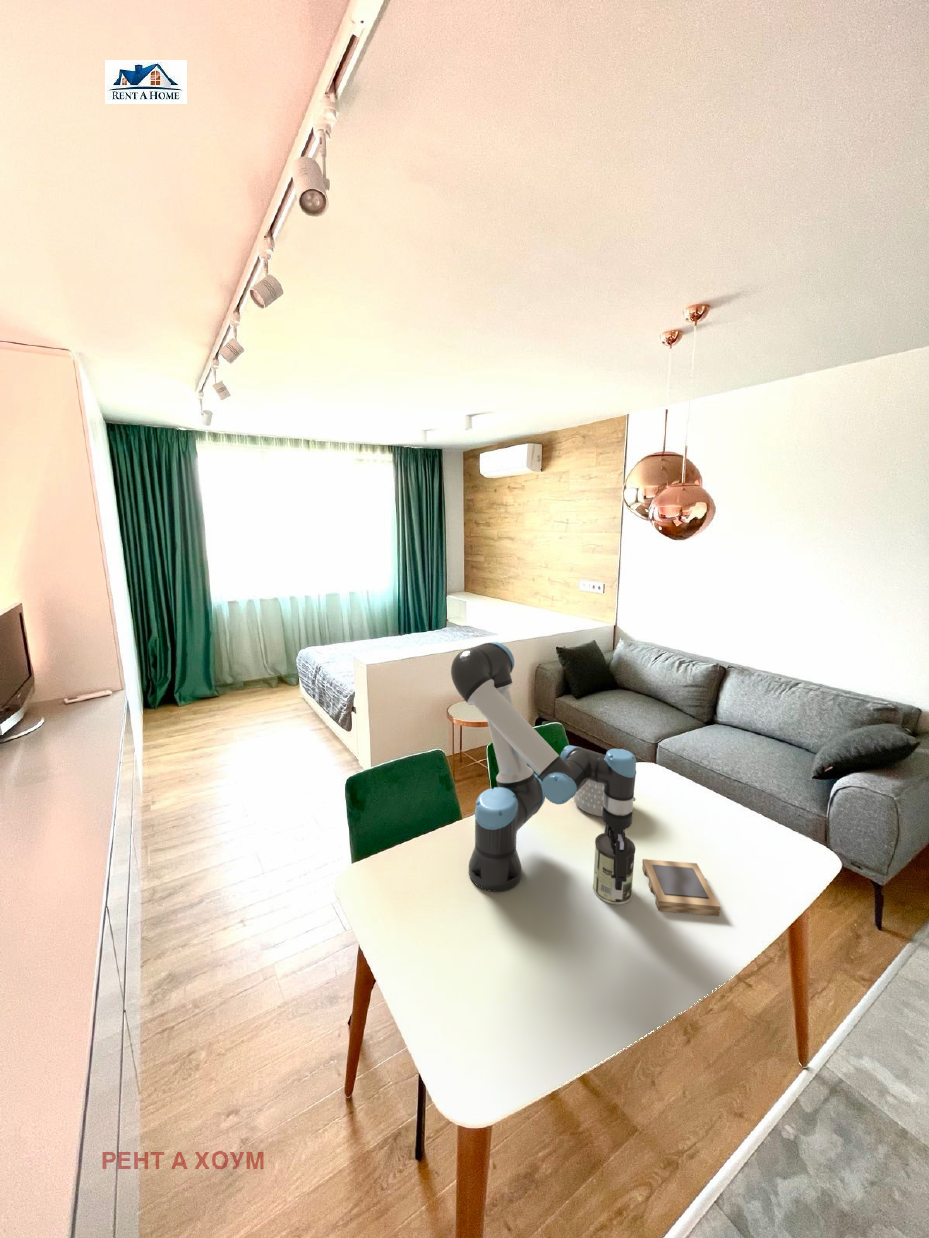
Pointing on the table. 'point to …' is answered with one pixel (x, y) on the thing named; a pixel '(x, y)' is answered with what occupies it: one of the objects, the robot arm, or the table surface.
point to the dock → (680, 887)
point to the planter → (590, 798)
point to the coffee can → (611, 870)
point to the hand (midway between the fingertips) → (612, 882)
